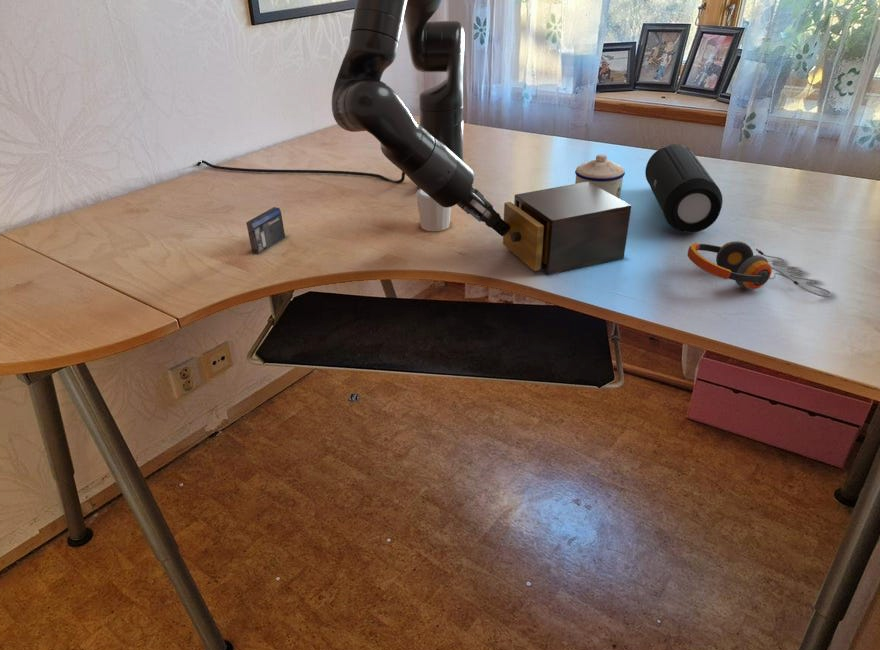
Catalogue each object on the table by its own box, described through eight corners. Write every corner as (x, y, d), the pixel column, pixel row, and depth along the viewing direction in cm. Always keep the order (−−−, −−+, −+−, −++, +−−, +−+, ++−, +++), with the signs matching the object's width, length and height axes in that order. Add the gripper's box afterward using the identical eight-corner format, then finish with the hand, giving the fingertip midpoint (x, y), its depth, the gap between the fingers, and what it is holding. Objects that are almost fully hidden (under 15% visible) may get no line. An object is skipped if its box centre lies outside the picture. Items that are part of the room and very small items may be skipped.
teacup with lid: (620, 223, 124) (629, 163, 118) (571, 222, 126) (577, 162, 120) (615, 201, 134) (623, 143, 128) (570, 200, 136) (575, 143, 129)
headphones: (851, 282, 96) (728, 266, 92) (832, 314, 99) (712, 299, 95) (784, 237, 110) (676, 221, 106) (769, 266, 113) (664, 251, 109)
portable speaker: (640, 188, 139) (647, 141, 134) (689, 188, 138) (698, 140, 132) (661, 237, 118) (671, 183, 113) (719, 237, 117) (732, 183, 111)
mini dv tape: (258, 253, 122) (252, 223, 119) (252, 252, 123) (246, 222, 119) (285, 237, 128) (280, 207, 124) (279, 236, 128) (274, 206, 125)
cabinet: (548, 275, 109) (552, 220, 103) (512, 245, 119) (514, 194, 114) (623, 258, 112) (631, 205, 107) (582, 231, 123) (587, 181, 117)
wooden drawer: (528, 272, 108) (530, 228, 104) (496, 245, 117) (497, 203, 113) (605, 256, 111) (611, 212, 107) (568, 231, 121) (572, 190, 116)
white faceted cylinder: (456, 220, 130) (456, 186, 126) (447, 233, 125) (446, 198, 121) (423, 217, 132) (422, 184, 128) (413, 231, 127) (411, 196, 123)
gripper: (470, 165, 98) (538, 227, 108) (438, 142, 109) (502, 201, 118) (438, 204, 100) (507, 262, 110) (409, 178, 110) (475, 233, 120)
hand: (505, 230), depth 114 cm, fingers closed
